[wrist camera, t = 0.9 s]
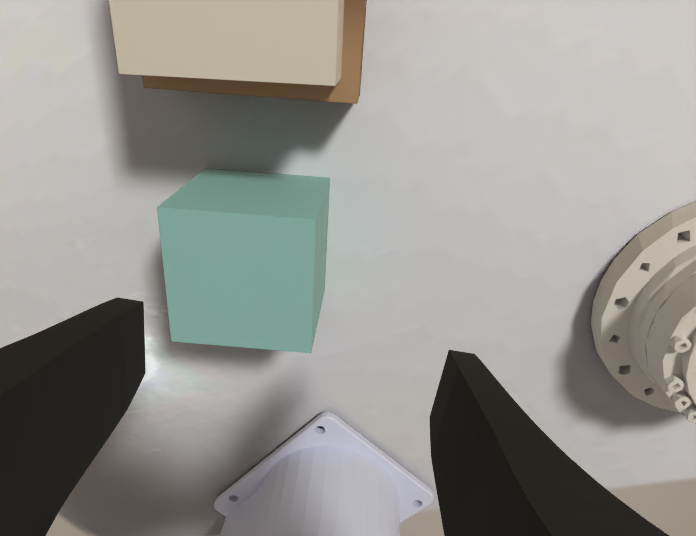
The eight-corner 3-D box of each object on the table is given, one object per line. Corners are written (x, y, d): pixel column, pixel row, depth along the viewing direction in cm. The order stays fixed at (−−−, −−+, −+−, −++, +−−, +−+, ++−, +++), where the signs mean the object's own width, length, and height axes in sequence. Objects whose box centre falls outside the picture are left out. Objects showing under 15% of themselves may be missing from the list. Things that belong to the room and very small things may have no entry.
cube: (324, 287, 22) (311, 353, 18) (213, 278, 22) (171, 341, 18) (330, 177, 20) (315, 219, 16) (206, 168, 20) (156, 207, 16)
